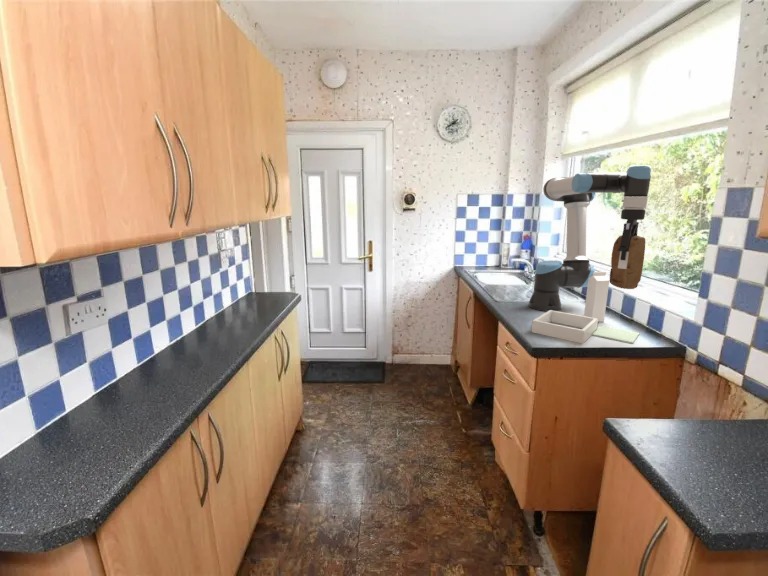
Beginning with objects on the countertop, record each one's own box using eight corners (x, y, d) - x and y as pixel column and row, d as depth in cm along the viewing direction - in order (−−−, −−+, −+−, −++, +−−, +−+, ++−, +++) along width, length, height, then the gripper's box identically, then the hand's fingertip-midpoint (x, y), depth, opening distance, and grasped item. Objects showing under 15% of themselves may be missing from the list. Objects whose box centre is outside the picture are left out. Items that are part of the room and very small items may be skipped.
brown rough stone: (641, 289, 147) (649, 237, 143) (622, 290, 147) (630, 237, 142) (622, 283, 158) (629, 234, 153) (604, 283, 157) (611, 234, 153)
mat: (600, 326, 166) (601, 325, 166) (639, 334, 157) (639, 332, 157) (592, 335, 156) (592, 334, 156) (632, 343, 147) (632, 342, 147)
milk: (604, 321, 173) (611, 273, 168) (591, 322, 173) (597, 273, 168) (595, 317, 179) (602, 270, 174) (583, 317, 179) (589, 270, 174)
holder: (549, 320, 175) (550, 309, 174) (596, 330, 162) (598, 318, 161) (531, 332, 160) (532, 320, 159) (582, 343, 147) (584, 331, 146)
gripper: (628, 207, 156) (620, 261, 161) (615, 209, 139) (607, 269, 144) (650, 208, 151) (642, 263, 156) (639, 209, 134) (630, 271, 139)
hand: (625, 266), depth 150 cm, fingers closed on brown rough stone, 11 cm apart
